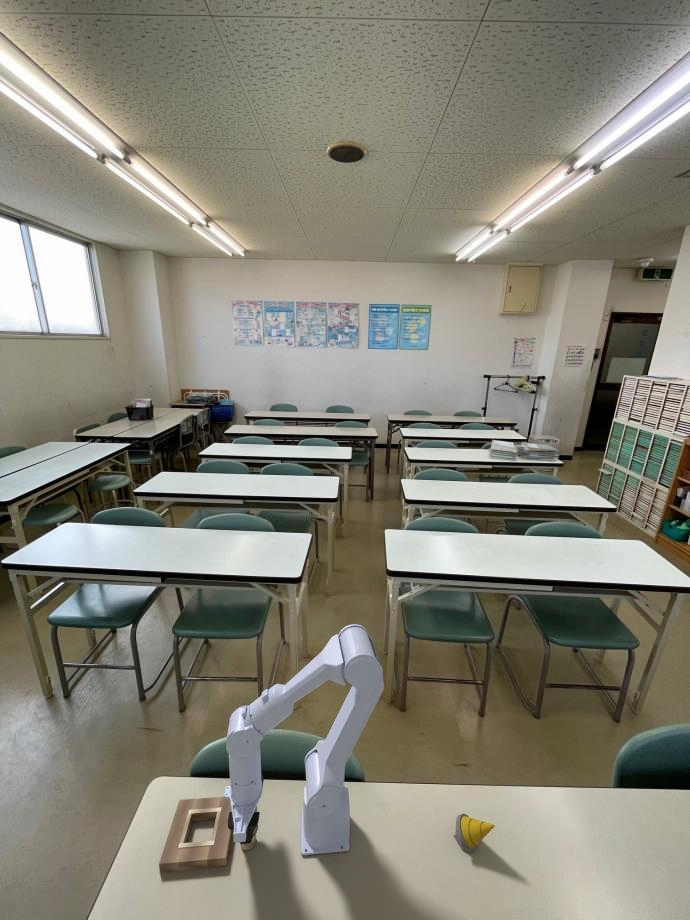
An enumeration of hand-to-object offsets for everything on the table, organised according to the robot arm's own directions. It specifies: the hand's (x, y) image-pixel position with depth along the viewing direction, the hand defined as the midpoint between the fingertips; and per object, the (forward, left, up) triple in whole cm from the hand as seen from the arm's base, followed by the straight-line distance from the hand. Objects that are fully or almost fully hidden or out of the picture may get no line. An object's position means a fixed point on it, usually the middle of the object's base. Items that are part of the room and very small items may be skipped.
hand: (247, 828), depth 74 cm
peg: (0, 0, -3) cm, 3 cm away
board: (+10, -2, -4) cm, 10 cm away
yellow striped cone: (-44, +3, -4) cm, 45 cm away
